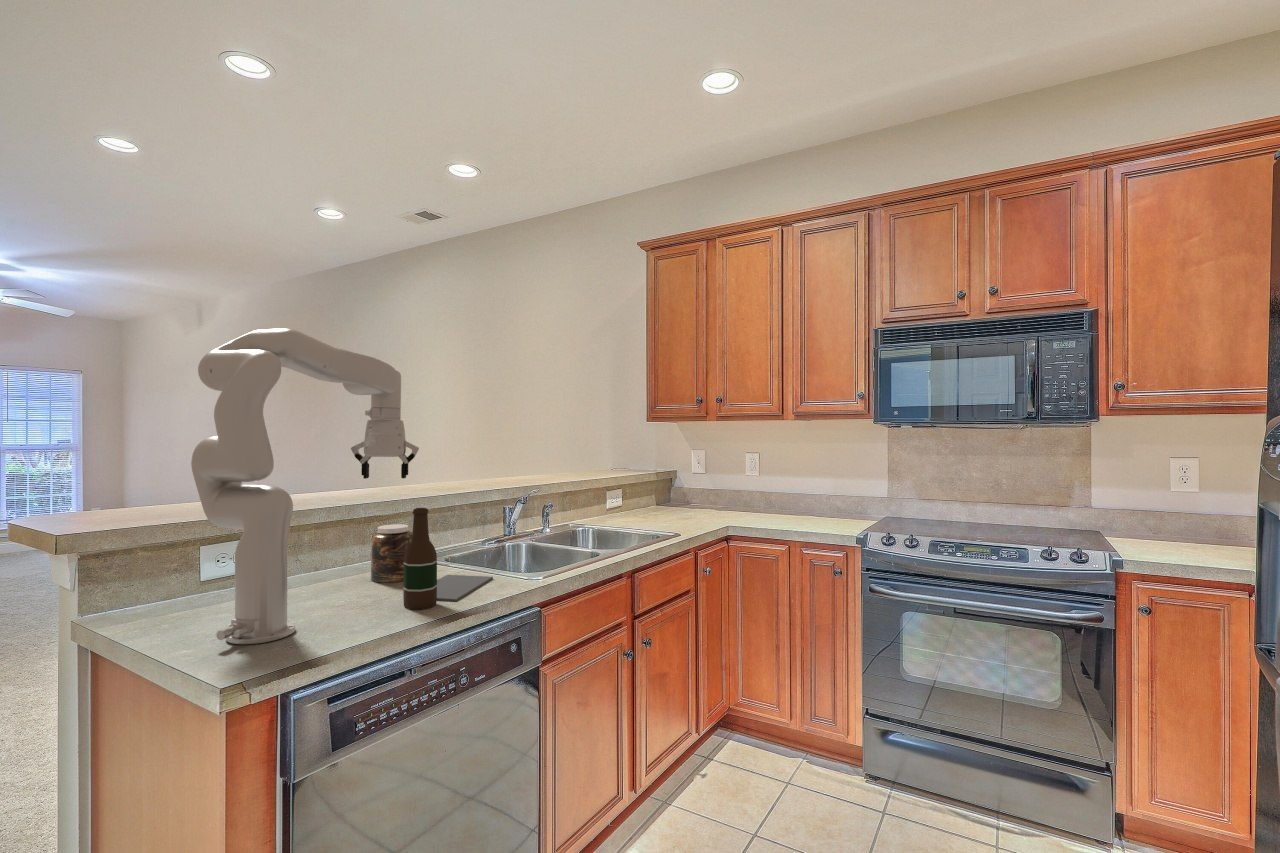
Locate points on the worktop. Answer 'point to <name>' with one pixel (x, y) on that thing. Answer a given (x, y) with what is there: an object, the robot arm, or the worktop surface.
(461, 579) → the mat
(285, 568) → the robot arm
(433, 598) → the beer bottle
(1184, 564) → the worktop surface
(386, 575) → the jar
